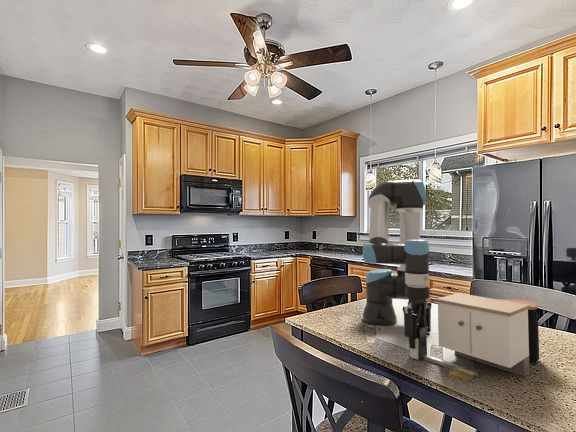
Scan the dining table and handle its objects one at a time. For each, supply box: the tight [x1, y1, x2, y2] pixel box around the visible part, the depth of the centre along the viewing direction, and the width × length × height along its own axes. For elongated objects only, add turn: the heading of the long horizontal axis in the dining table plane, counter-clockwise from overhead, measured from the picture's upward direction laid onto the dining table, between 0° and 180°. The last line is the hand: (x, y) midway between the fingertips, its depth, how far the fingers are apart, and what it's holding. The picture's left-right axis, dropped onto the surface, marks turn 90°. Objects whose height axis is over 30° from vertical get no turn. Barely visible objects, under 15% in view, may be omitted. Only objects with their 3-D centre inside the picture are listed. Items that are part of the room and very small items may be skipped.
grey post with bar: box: [408, 325, 478, 378], centre depth 100 cm, size 20×4×10 cm, turn 38°
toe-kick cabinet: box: [435, 292, 530, 377], centre depth 98 cm, size 21×16×20 cm
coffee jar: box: [503, 298, 540, 365], centre depth 105 cm, size 11×11×18 cm
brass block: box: [447, 368, 475, 384], centre depth 92 cm, size 5×5×2 cm
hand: (418, 356), depth 106 cm, fingers closed on grey post with bar, 4 cm apart
